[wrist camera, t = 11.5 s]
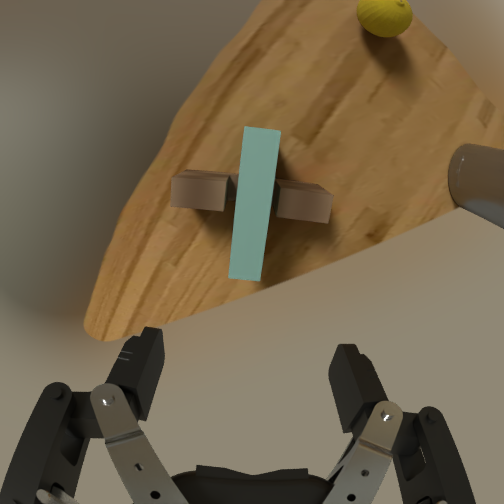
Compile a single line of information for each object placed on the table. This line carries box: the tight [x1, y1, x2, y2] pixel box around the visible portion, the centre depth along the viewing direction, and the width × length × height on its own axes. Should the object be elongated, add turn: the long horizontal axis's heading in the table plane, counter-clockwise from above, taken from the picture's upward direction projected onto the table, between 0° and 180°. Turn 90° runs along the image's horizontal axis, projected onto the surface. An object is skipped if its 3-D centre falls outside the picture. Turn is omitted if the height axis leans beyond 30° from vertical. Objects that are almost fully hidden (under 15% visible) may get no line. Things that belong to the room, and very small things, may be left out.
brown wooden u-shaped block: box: [170, 170, 334, 224], centre depth 26 cm, size 14×3×6 cm, turn 83°
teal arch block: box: [229, 127, 281, 281], centre depth 25 cm, size 12×3×9 cm, turn 173°
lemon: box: [357, 0, 413, 37], centre depth 17 cm, size 6×6×8 cm
